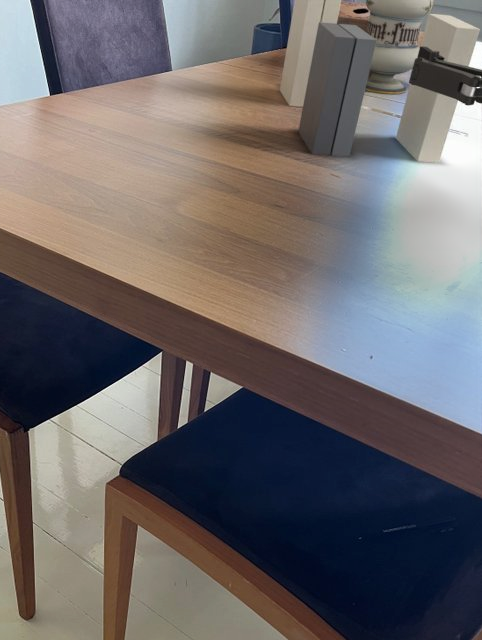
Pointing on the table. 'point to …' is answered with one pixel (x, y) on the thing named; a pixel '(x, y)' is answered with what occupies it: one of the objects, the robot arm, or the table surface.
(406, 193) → the table surface
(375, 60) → the apothecary jar
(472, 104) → the robot arm
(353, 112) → the grey books
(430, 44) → the white book
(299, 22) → the white books
